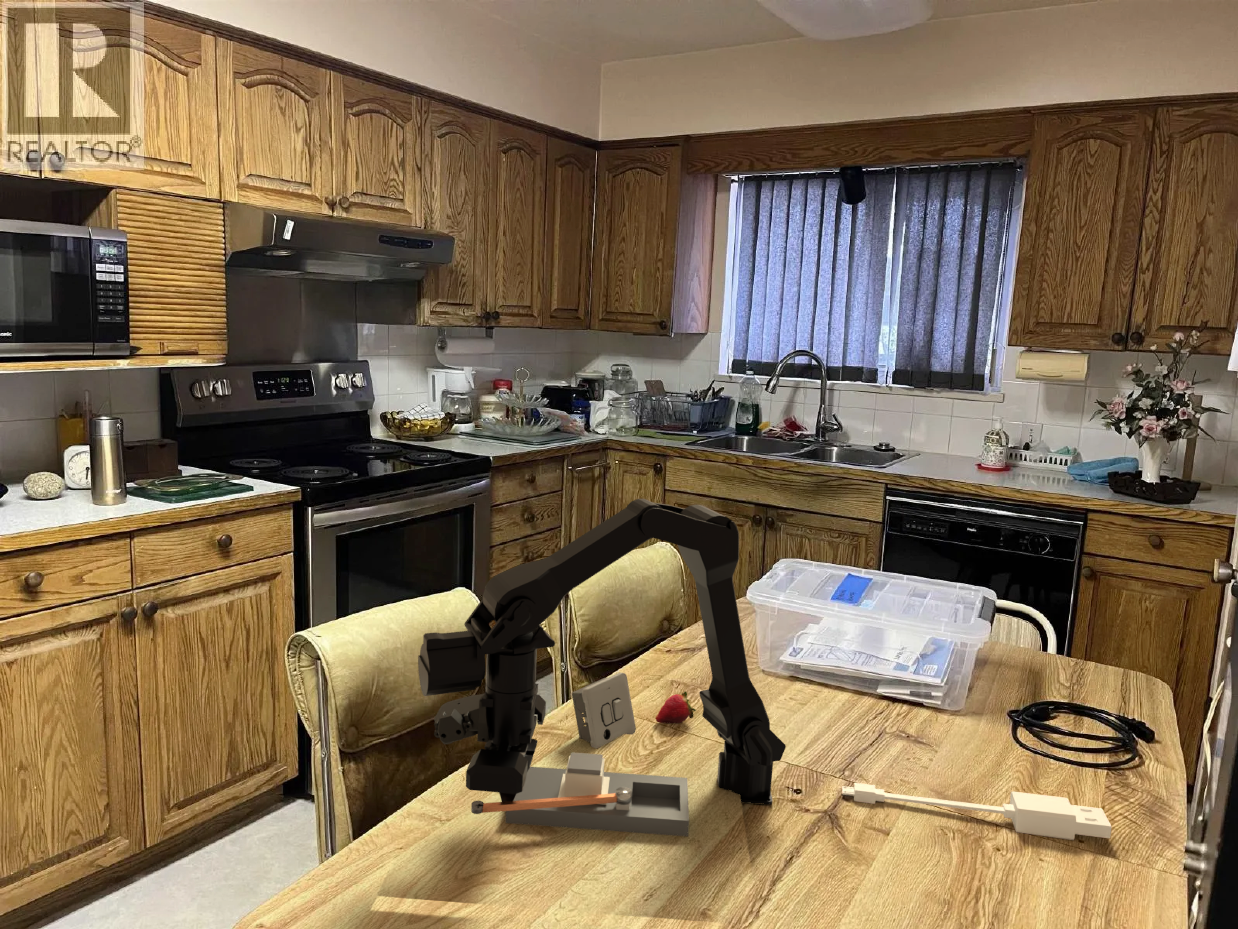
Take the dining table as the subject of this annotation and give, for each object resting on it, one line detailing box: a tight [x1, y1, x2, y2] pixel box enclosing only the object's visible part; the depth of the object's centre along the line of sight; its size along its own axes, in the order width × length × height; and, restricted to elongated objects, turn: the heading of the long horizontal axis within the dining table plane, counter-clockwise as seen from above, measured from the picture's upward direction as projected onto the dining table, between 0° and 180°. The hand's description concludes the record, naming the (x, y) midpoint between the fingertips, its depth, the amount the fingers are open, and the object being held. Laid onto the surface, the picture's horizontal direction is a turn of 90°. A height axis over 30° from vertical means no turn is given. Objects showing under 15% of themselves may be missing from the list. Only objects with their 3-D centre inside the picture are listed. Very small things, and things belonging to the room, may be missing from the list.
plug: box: [558, 751, 610, 805], centre depth 114 cm, size 6×6×6 cm
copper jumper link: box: [470, 787, 632, 815], centre depth 109 cm, size 19×2×1 cm, turn 103°
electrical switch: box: [571, 672, 637, 749], centre depth 134 cm, size 9×5×9 cm, turn 141°
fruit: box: [654, 691, 697, 724], centre depth 140 cm, size 4×6×5 cm
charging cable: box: [841, 782, 1112, 841], centre depth 119 cm, size 5×32×3 cm, turn 77°
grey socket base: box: [505, 766, 690, 837], centre depth 114 cm, size 22×10×4 cm, turn 87°
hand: (506, 804), depth 109 cm, fingers closed
